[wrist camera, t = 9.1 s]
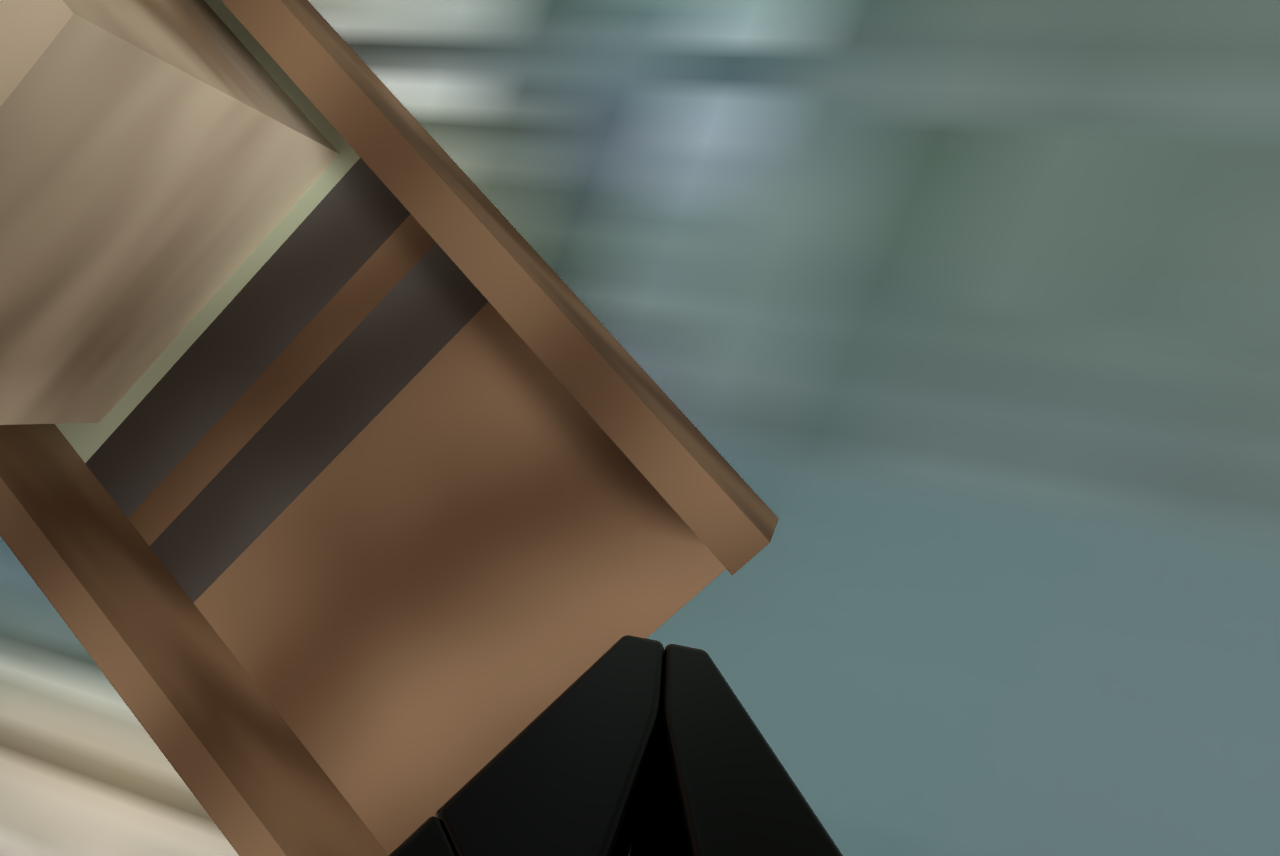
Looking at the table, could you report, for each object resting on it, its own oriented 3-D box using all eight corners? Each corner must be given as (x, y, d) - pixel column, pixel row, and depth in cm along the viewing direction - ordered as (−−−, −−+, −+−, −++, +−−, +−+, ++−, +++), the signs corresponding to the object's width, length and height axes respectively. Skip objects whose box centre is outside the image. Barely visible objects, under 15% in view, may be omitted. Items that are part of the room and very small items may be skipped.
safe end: (421, 125, 21) (344, 70, 18) (95, 484, 24) (-28, 497, 20) (201, -116, 22) (90, -211, 19) (-87, 249, 25) (-232, 224, 21)
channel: (778, 518, 19) (769, 542, 16) (386, 861, 22) (306, 945, 18) (201, -116, 22) (90, -211, 19) (-87, 249, 25) (-232, 224, 21)
